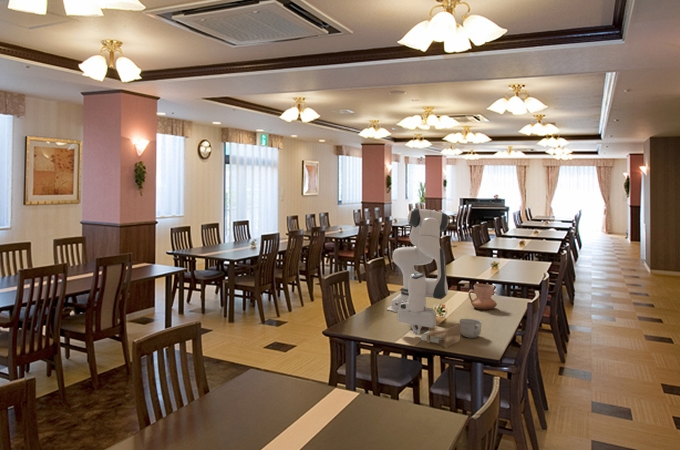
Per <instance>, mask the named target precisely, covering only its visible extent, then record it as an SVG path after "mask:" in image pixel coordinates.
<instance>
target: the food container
mask: <svg viewBox="0 0 680 450" xmlns="http://www.w3.org/2000/svg"><path fill="white" fill-rule="evenodd" d="M415 328H416V329H417V330H418V328H419V327H418V325H415ZM410 330H412V331H413V329H412V327H411V326H410ZM420 331H422V332H428V331H430V328H429V327H424V326H422V328H421V329H420Z"/></svg>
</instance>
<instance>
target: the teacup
mask: <svg viewBox="0 0 680 450" xmlns="http://www.w3.org/2000/svg"><path fill="white" fill-rule="evenodd" d="M459 324H460V335H462V336H463V337H466V338H471V339H472V338H473V339H474V338H478V337H479V335H481V333H482V325H483V322H482V321H481V320H479V319H473V318H460V319H459Z"/></svg>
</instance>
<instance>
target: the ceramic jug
mask: <svg viewBox="0 0 680 450" xmlns="http://www.w3.org/2000/svg"><path fill="white" fill-rule="evenodd" d="M494 290H495V286H494V285H492V284H491V285H490V284H474V285H473V289H469V291H468V292H467V293H468V294H467V296H468V298H469V300H470V303H471V306H472V307H473V308H474V309H478V310H483V311H489V310H493V309H494V308H496V307H497V305H498V303H497V302H496V300H494V299H492V296H493V295H494V294H496V295H498V293H499V291H497V290H496V291H494ZM471 293H473V294H475V296H476V297H475V299H473V298H472V297H471V296H472V295H471Z"/></svg>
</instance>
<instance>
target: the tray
mask: <svg viewBox="0 0 680 450" xmlns="http://www.w3.org/2000/svg"><path fill="white" fill-rule="evenodd" d="M430 331H431V330H429V331H425V332H424V333H421V334H420V339H421V341H426V342H427V333H428V332H430ZM439 340H444V341H445V338H441V337H436V336H431V335H430V343H435V344H439Z"/></svg>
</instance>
